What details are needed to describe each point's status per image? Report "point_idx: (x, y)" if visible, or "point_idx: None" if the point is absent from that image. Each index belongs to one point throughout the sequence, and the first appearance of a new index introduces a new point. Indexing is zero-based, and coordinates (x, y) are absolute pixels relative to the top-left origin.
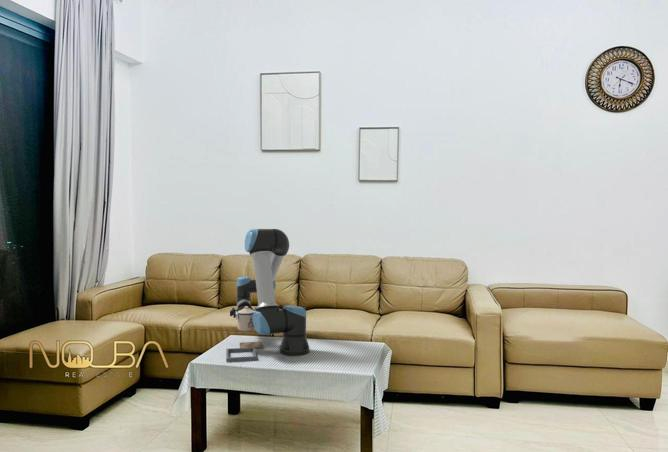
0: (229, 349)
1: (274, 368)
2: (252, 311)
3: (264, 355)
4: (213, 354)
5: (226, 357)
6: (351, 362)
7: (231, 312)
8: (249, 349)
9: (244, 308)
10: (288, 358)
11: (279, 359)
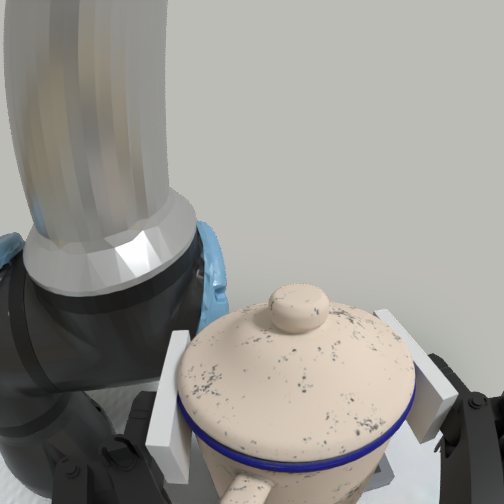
0: (375, 474)
1: None
2: (216, 324)
3: (191, 438)
4: (432, 446)
5: None
6: None
7: (500, 398)
8: None
9: (328, 320)
10: (115, 390)
11: (147, 387)
